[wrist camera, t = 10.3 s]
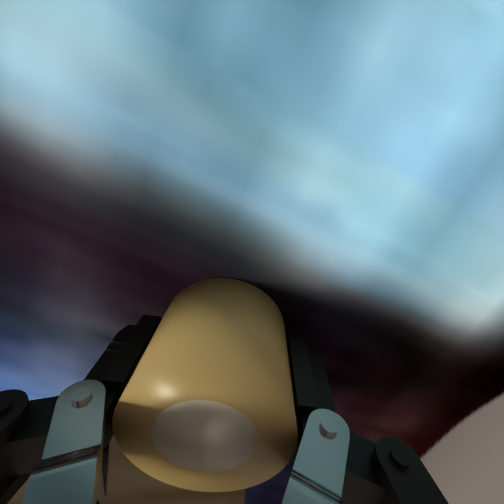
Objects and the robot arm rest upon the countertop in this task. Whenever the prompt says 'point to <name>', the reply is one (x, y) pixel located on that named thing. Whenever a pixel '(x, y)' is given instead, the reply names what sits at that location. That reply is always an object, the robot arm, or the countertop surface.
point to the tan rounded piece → (212, 392)
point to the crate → (147, 487)
